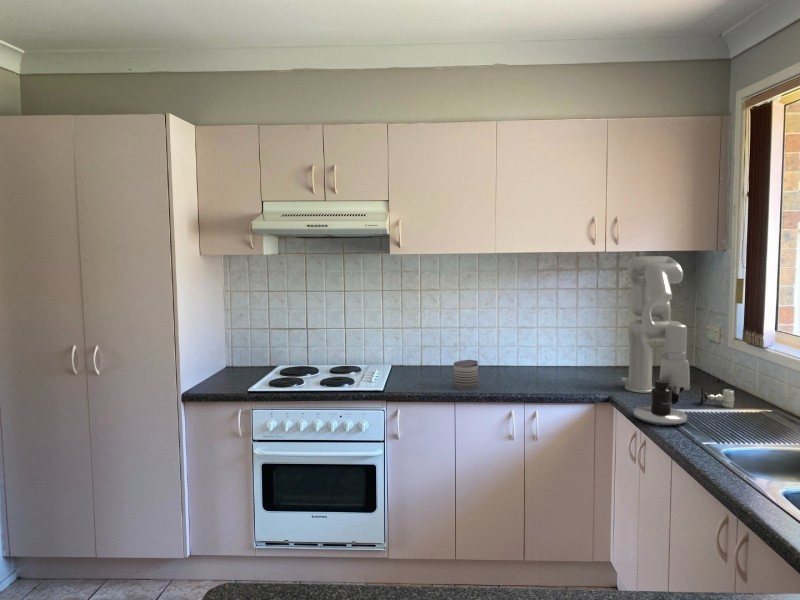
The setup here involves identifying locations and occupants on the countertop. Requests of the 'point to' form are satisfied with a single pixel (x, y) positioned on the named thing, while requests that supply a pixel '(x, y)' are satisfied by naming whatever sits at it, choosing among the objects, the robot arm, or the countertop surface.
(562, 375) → the countertop surface
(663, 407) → the supplement bottle
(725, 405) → the valve
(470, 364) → the can
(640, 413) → the turntable
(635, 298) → the robot arm
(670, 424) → the turntable base
